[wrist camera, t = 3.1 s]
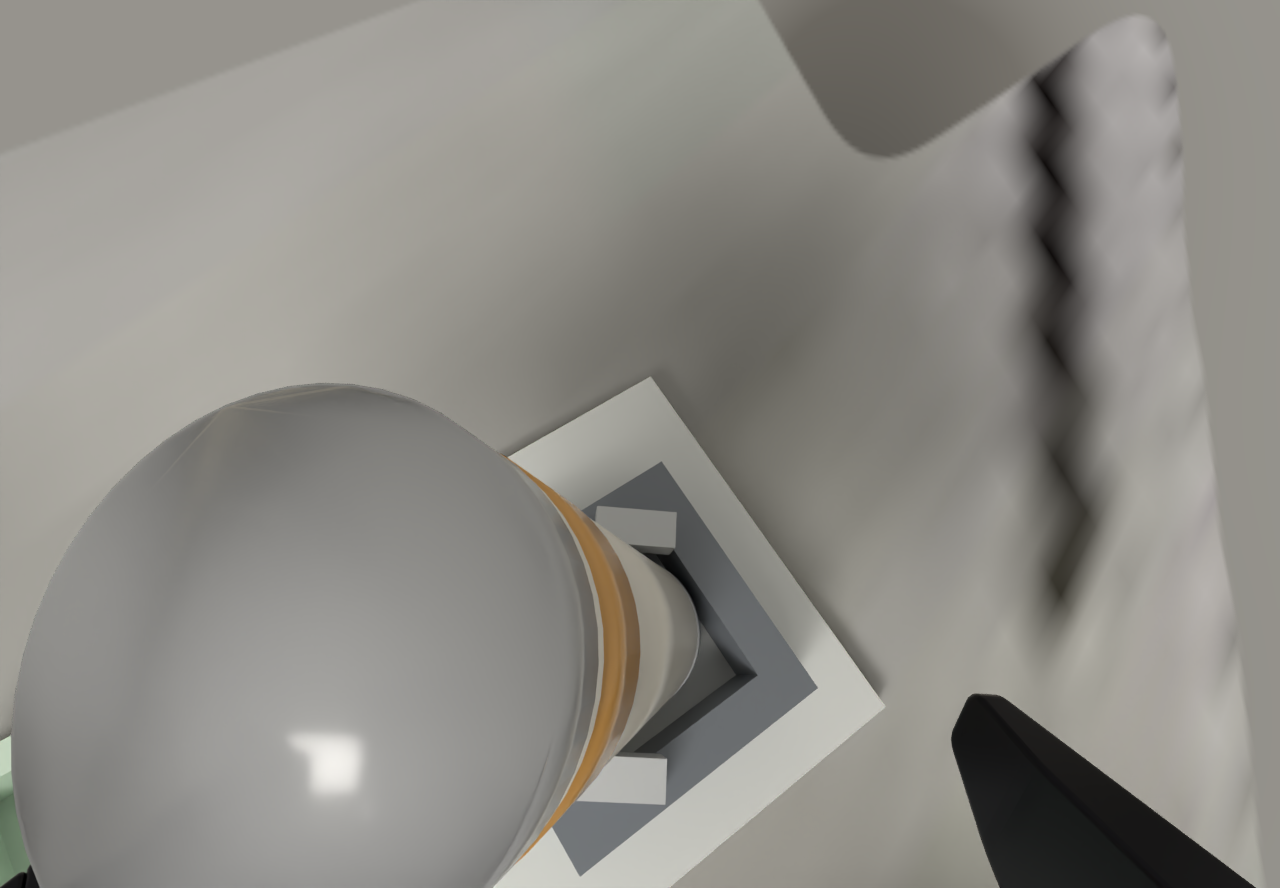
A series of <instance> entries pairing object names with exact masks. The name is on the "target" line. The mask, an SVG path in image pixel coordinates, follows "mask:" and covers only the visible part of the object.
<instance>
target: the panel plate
mask: <svg viewBox="0 0 1280 888" xmlns="http://www.w3.org/2000/svg"><path fill="white" fill-rule="evenodd" d="M507 458H509V459H510V460H511V461H513V462H514V463H516V464H517V465H519V466H520V467H521V468H523V469H524V470H526V471H527V472H529V473H530V474H532V475H533V476H534V477H536V478H537V479H539V480H540V481H541V482H543V483H544V484H546V485H547V486H549V487H550V488H551V489H553V490H554V491H556V492H557V493H559V494H560V495H561V496H563V497H564V498H566V499H567V500H568V501H570V502H571V503H573V504H574V505H576V506H577V507H578V508H579V509H580V510H583V509H585V508H586V507H588V506H589V505H591V504H593V503H594V502H596V501H598V500H599V499H601V498H603V497H604V496H606V495H607V494H609V493H611V492H612V491H614V490H616V489H617V488H619V487H620V486H622V485H624V484H625V483H627V482H629V481H630V480H632V479H634V478H635V477H637V476H638V475H640V474H642V473H643V472H645V471H647V470H648V469H650V468H652V467H653V466H655V465H656V464H658V463H660V462H661V461H662V463H663V464H664V465H665V467H666V468H667V470H668V471H669V473H670V474H671V476H672V477H673V479H674V480H675V481H676V483H677V484H678V486H679V487H680V489H681V490H682V492H683V493H684V494H685V496H686V497H687V499H688V500H689V502H690V503H691V505H692V506H693V507H694V509H695V510H696V512H697V513H698V515H699V516H700V518H701V519H702V521H703V522H704V523H705V525H706V526H707V528H708V529H709V531H710V532H711V534H712V535H713V536H714V538H715V539H716V541H717V542H718V544H719V545H720V547H721V548H722V549H723V551H724V552H725V554H726V555H727V557H728V558H729V560H730V561H731V563H732V564H733V565H734V567H735V568H736V570H737V571H738V573H739V574H740V576H741V577H742V578H743V580H744V581H745V583H746V584H747V586H748V587H749V589H750V590H751V591H752V593H753V594H754V596H755V597H756V599H757V600H758V602H759V603H760V605H761V606H762V607H763V609H764V610H765V612H766V613H767V615H768V616H769V618H770V619H771V620H772V622H773V623H774V625H775V626H776V628H777V629H778V631H779V632H780V633H781V635H782V636H783V638H784V639H785V641H786V642H787V644H788V645H789V646H790V648H791V649H792V651H793V652H794V654H795V655H796V657H797V658H798V660H799V661H800V662H801V664H802V665H803V667H804V668H805V670H806V671H807V673H808V674H809V675H810V677H811V678H812V680H813V681H814V683H815V684H816V686H817V687H818V689H816V690H815V691H814V692H813V693H811V694H810V695H809V696H808V697H806V698H805V699H804V700H802V701H801V702H800V703H799V704H797V705H796V706H795V707H794V708H792V709H791V710H790V711H789V712H787V713H786V714H785V715H784V716H782V717H781V718H780V719H779V720H777V721H776V722H775V723H773V724H772V725H771V726H770V727H768V728H767V729H766V730H765V731H763V732H762V733H761V734H760V735H758V736H757V737H756V738H755V739H753V740H752V741H751V742H749V743H748V744H747V745H746V746H744V747H743V748H742V749H741V750H739V751H738V752H737V753H736V754H734V755H733V756H732V757H731V758H729V759H728V760H727V761H726V762H724V763H723V764H722V765H720V766H719V767H718V768H717V769H715V770H714V771H713V772H712V773H710V774H709V775H708V776H707V777H705V778H704V779H703V780H702V781H700V782H699V783H698V784H697V785H695V786H694V787H693V788H691V789H690V790H689V791H688V792H686V793H685V794H684V795H683V796H681V797H680V798H679V799H678V800H676V801H675V802H674V803H673V804H671V805H670V806H669V807H668V808H666V809H665V810H664V811H662V812H661V813H660V814H659V815H657V816H656V817H655V818H654V819H652V820H651V821H650V822H649V823H647V824H646V825H645V826H644V827H642V828H641V829H640V830H639V831H637V832H636V833H635V834H633V835H632V836H631V837H630V838H628V839H627V840H626V841H625V842H623V843H622V844H621V845H620V846H618V847H617V848H616V849H615V850H613V851H612V852H611V853H610V854H608V855H607V856H606V857H604V858H603V859H602V860H601V861H599V862H598V863H597V864H596V865H594V866H593V867H592V868H591V869H589V870H588V871H587V872H586V873H584V874H583V875H582V876H581V877H580V876H579V875H578V873H577V871H576V869H575V867H574V866H573V864H572V862H571V860H570V858H569V857H568V855H567V853H566V851H565V849H564V848H563V846H562V844H561V842H560V841H559V839H558V837H557V835H556V833H555V832H554V830H553V828H552V827H551V828H550V829H549V831H548V832H547V833H546V834H545V835H544V836H543V837H542V838H541V839H540V840H539V841H538V842H537V843H536V844H535V845H534V847H533V848H532V849H531V850H530V851H529V852H528V853H527V854H526V855H525V856H524V857H523V858H522V859H521V860H519V861H518V862H517V863H516V864H515V865H514V866H513V867H512V868H511V869H510V870H509V871H508V872H507V873H506V874H505V875H504V877H503V878H502V879H501V880H500V881H499V882H498V883H497V884H496V885H495V886H494V887H493V888H669V887H671V886H672V885H673V884H674V883H675V882H677V881H678V880H679V879H680V878H681V877H683V876H684V875H685V874H686V873H687V872H689V871H690V870H691V869H692V868H693V867H695V866H696V865H697V864H698V863H699V862H701V861H702V860H703V859H704V858H705V857H707V856H708V855H709V854H710V853H711V852H713V851H714V850H715V849H716V848H717V847H719V846H720V845H721V844H722V843H723V842H725V841H726V840H727V839H728V838H729V837H731V836H732V835H733V834H734V833H735V832H736V831H738V830H739V829H740V828H741V827H742V826H744V825H745V824H746V823H747V822H748V821H750V820H751V819H752V818H753V817H754V816H756V815H757V814H758V813H759V812H760V811H762V810H763V809H764V808H765V807H766V806H768V805H769V804H770V803H771V802H772V801H774V800H775V799H776V798H777V797H778V796H780V795H781V794H782V793H783V792H784V791H786V790H787V789H788V788H789V787H790V786H792V785H793V784H794V783H795V782H796V781H798V780H799V779H800V778H801V777H802V776H804V775H805V774H806V773H807V772H808V771H810V770H811V769H812V768H813V767H814V766H816V765H817V764H818V763H819V762H820V761H822V760H823V759H824V758H825V757H826V756H827V755H829V754H830V753H831V752H832V751H833V750H835V749H836V748H837V747H838V746H839V745H841V744H842V743H843V742H844V741H845V740H847V739H848V738H849V737H850V736H851V735H853V734H854V733H855V732H856V731H857V730H859V729H860V728H861V727H862V726H863V725H865V724H866V723H867V722H868V721H869V720H871V719H872V718H873V717H874V716H875V715H877V714H878V713H879V712H880V711H881V710H883V709H884V708H885V705H884V704H883V702H882V701H881V700H880V698H879V697H878V695H877V694H876V693H875V691H874V690H873V688H872V687H871V685H870V684H869V683H868V681H867V680H866V678H865V677H864V676H863V674H862V673H861V671H860V670H859V669H858V667H857V666H856V664H855V663H854V662H853V660H852V659H851V657H850V656H849V655H848V653H847V652H846V650H845V649H844V648H843V646H842V645H841V643H840V642H839V640H838V639H837V638H836V636H835V635H834V633H833V632H832V631H831V629H830V628H829V626H828V625H827V624H826V622H825V621H824V619H823V618H822V617H821V615H820V614H819V612H818V611H817V610H816V608H815V607H814V605H813V604H812V603H811V601H810V600H809V598H808V597H807V595H806V594H805V593H804V591H803V590H802V588H801V587H800V586H799V584H798V583H797V581H796V580H795V579H794V577H793V576H792V574H791V573H790V572H789V570H788V569H787V567H786V566H785V565H784V563H783V562H782V560H781V559H780V558H779V556H778V555H777V553H776V552H775V550H774V549H773V548H772V546H771V545H770V543H769V542H768V541H767V539H766V538H765V536H764V535H763V534H762V532H761V531H760V529H759V528H758V527H757V525H756V524H755V522H754V521H753V520H752V518H751V517H750V515H749V514H748V513H747V511H746V510H745V508H744V507H743V506H742V504H741V503H740V501H739V500H738V498H737V497H736V496H735V494H734V493H733V491H732V490H731V489H730V487H729V486H728V484H727V483H726V482H725V480H724V479H723V477H722V476H721V475H720V473H719V472H718V470H717V469H716V468H715V466H714V465H713V463H712V462H711V461H710V459H709V458H708V456H707V455H706V453H705V452H704V451H703V449H702V448H701V446H700V445H699V444H698V442H697V441H696V439H695V438H694V437H693V435H692V434H691V432H690V431H689V430H688V428H687V427H686V425H685V424H684V423H683V421H682V420H681V418H680V417H679V416H678V414H677V413H676V411H675V410H674V408H673V407H672V406H671V404H670V403H669V401H668V400H667V399H666V397H665V396H664V394H663V393H662V392H661V390H660V389H659V387H658V386H657V385H656V383H655V382H654V380H653V379H652V378H651V376H650V377H648V378H647V379H645V380H643V381H641V382H640V383H638V384H636V385H634V386H633V387H631V388H629V389H627V390H625V391H624V392H622V393H620V394H618V395H617V396H615V397H613V398H611V399H610V400H608V401H606V402H604V403H602V404H601V405H599V406H597V407H595V408H594V409H592V410H590V411H588V412H587V413H585V414H583V415H581V416H579V417H578V418H576V419H574V420H572V421H571V422H569V423H567V424H565V425H564V426H562V427H560V428H558V429H556V430H555V431H553V432H551V433H549V434H548V435H546V436H544V437H542V438H541V439H539V440H537V441H535V442H533V443H532V444H530V445H528V446H526V447H525V448H523V449H521V450H519V451H518V452H516V453H514V454H512V455H510V456H509V457H507ZM641 554H643V555H644V556H646V557H647V558H649V559H650V560H652V561H653V562H654V563H656V564H658V565H660V566H662V567H663V568H665V567H664V566H663V564H662V563H661V561H660V560H659V558H658V557H657V555H656V554H651V553H641ZM700 628H701V643H700V650H699V655H698V658H697V661H696V664H695V667H694V669H693V671H692V673H691V675H690V676H689V678H688V679H687V681H686V683H685V684H684V685H683V686H682V687H681V688H680V690H679V691H678V692H677V693H676V694H675V695H674V696H673V697H672V698H670V699H669V700H668V701H667V702H666V703H665V704H664V705H663V706H662V707H661V708H660V709H659V710H658V712H657V713H656V714H655V715H654V716H653V717H652V718H651V719H650V720H649V721H648V722H647V723H646V724H645V725H644V726H643V727H642V728H641V729H640V730H639V731H638V732H637V733H636V734H635V736H634V737H633V738H632V739H631V740H630V741H629V742H628V743H627V744H626V745H625V746H624V747H623V748H622V749H621V750H620V751H619V752H634V751H635V750H637V749H638V748H639V747H641V746H642V745H643V744H645V743H646V742H647V741H649V740H650V739H651V738H653V737H654V736H655V735H657V734H658V733H659V732H661V731H662V730H663V729H665V728H666V727H667V726H669V725H670V724H671V723H673V722H674V721H675V720H677V719H678V718H679V717H681V716H682V715H683V714H685V713H686V712H687V711H689V710H690V709H691V708H693V707H694V706H695V705H697V704H698V703H699V702H701V701H702V700H703V699H705V698H706V697H707V696H709V695H710V694H711V693H713V692H714V691H715V690H717V689H718V688H719V687H721V686H722V685H723V684H725V683H726V682H727V681H729V680H730V679H731V678H733V677H734V676H735V675H736V674H735V673H734V671H733V670H732V668H731V667H730V665H729V664H728V662H727V661H726V659H725V658H724V656H723V655H722V653H721V652H720V650H719V649H718V647H717V646H716V644H715V643H714V641H713V640H712V638H711V637H710V635H709V634H708V632H707V630H706V629H705V627H704V626H703V624H702V623H701V621H700Z"/></svg>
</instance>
